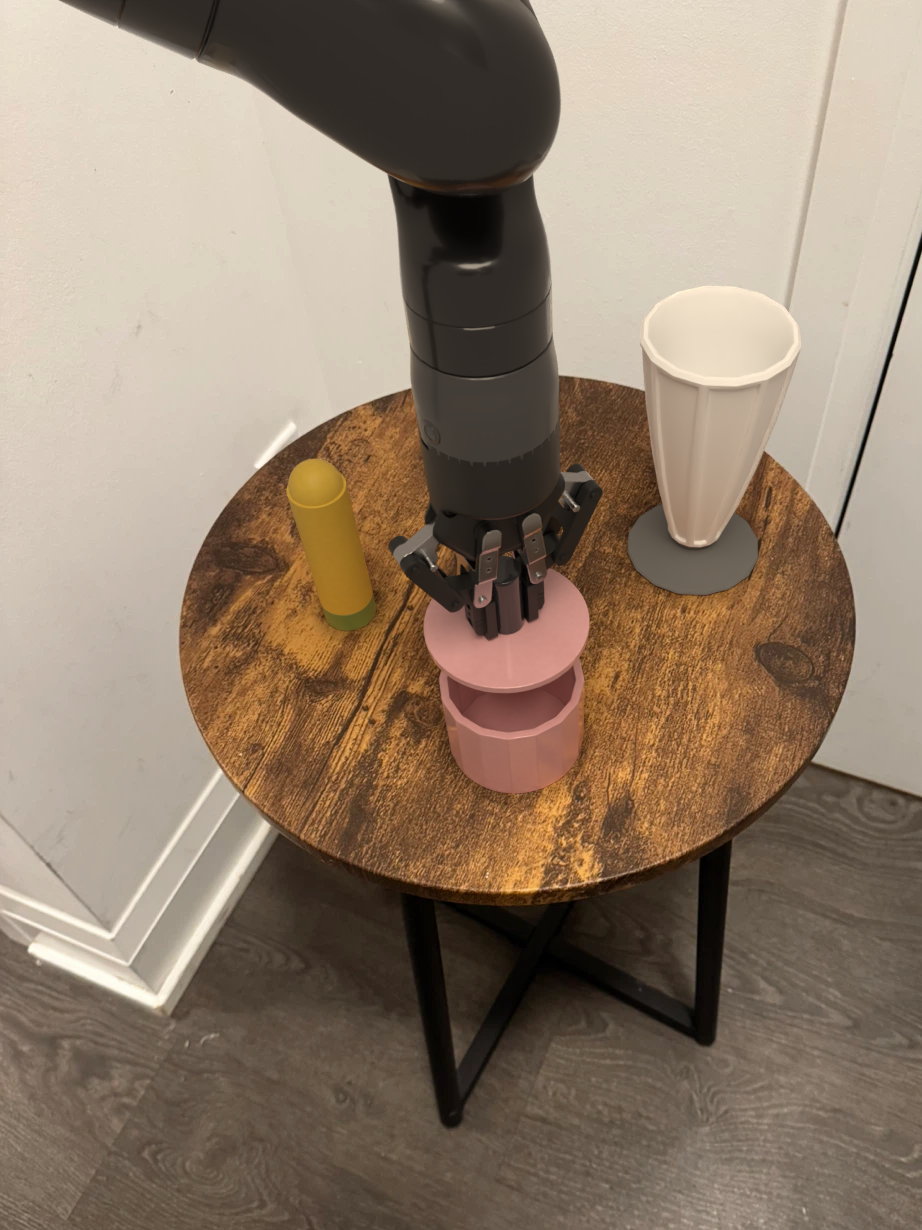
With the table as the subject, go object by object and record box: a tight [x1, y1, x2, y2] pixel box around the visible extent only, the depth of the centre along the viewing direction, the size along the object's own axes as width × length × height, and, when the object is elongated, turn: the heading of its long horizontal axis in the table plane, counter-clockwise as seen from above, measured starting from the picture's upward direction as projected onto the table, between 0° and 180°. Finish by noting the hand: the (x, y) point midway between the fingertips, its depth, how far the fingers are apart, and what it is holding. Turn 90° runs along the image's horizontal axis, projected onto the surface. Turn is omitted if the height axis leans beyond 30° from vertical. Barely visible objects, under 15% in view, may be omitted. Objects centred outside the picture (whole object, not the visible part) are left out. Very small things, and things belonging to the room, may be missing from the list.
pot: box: [438, 657, 585, 794], centre depth 77 cm, size 10×10×8 cm
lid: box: [423, 555, 591, 693], centre depth 67 cm, size 11×11×6 cm
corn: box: [285, 458, 377, 632], centre depth 81 cm, size 4×4×16 cm
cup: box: [626, 285, 802, 596], centre depth 82 cm, size 12×12×22 cm
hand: (505, 620), depth 68 cm, fingers closed on lid, 2 cm apart
